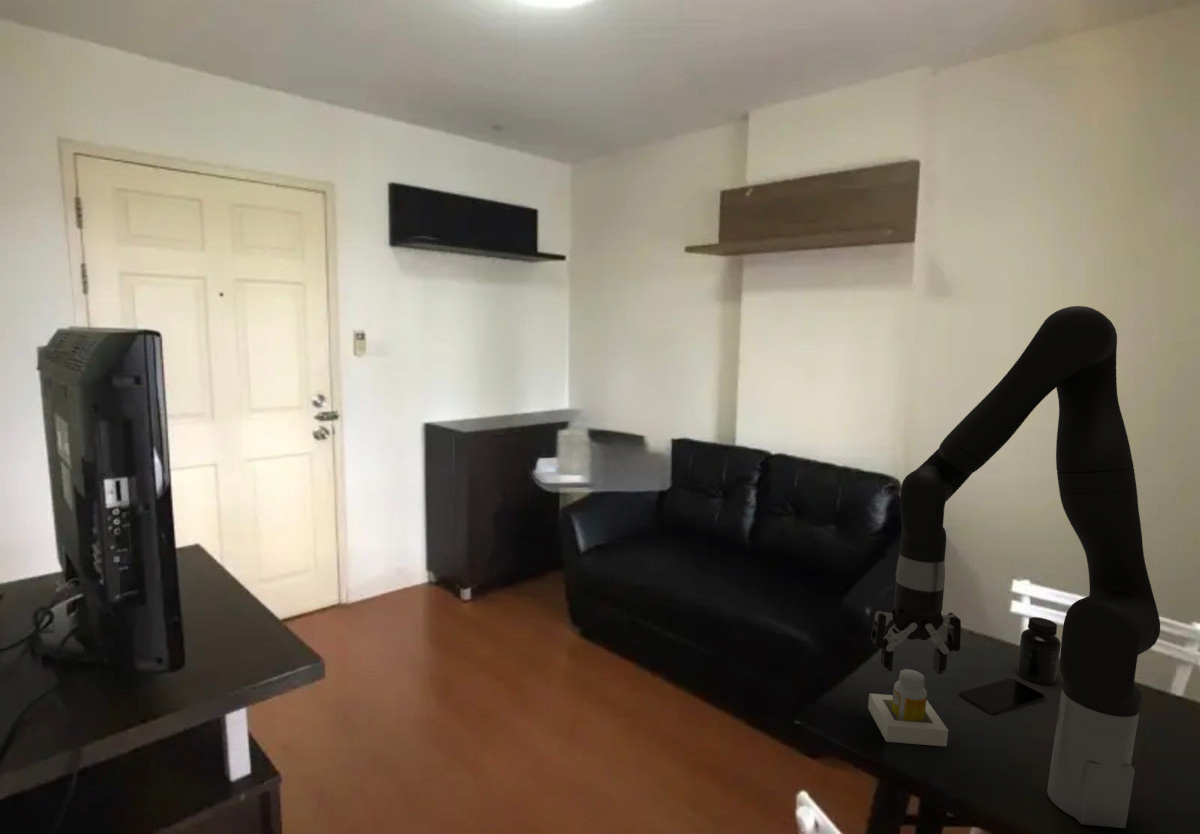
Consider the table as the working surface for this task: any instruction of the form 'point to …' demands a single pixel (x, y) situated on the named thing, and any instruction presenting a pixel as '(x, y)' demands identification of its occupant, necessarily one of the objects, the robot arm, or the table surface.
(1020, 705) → the smartphone
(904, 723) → the socket plate
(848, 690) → the table surface
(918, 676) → the supplement bottle
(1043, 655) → the supplement bottle
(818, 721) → the table surface
